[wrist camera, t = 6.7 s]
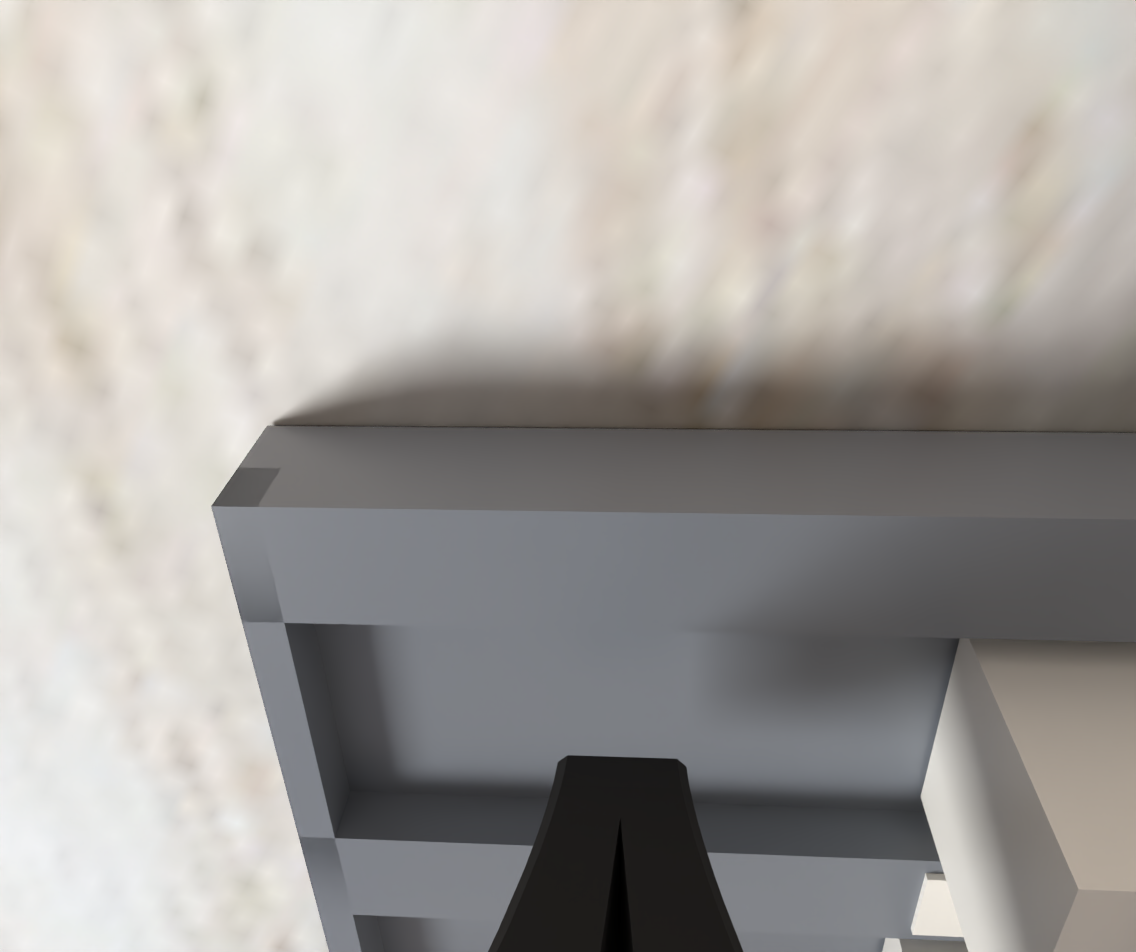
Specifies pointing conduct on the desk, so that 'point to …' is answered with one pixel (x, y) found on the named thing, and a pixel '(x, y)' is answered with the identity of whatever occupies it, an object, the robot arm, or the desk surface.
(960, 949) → the tab
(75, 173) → the desk surface
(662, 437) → the switch bank
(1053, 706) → the tab
